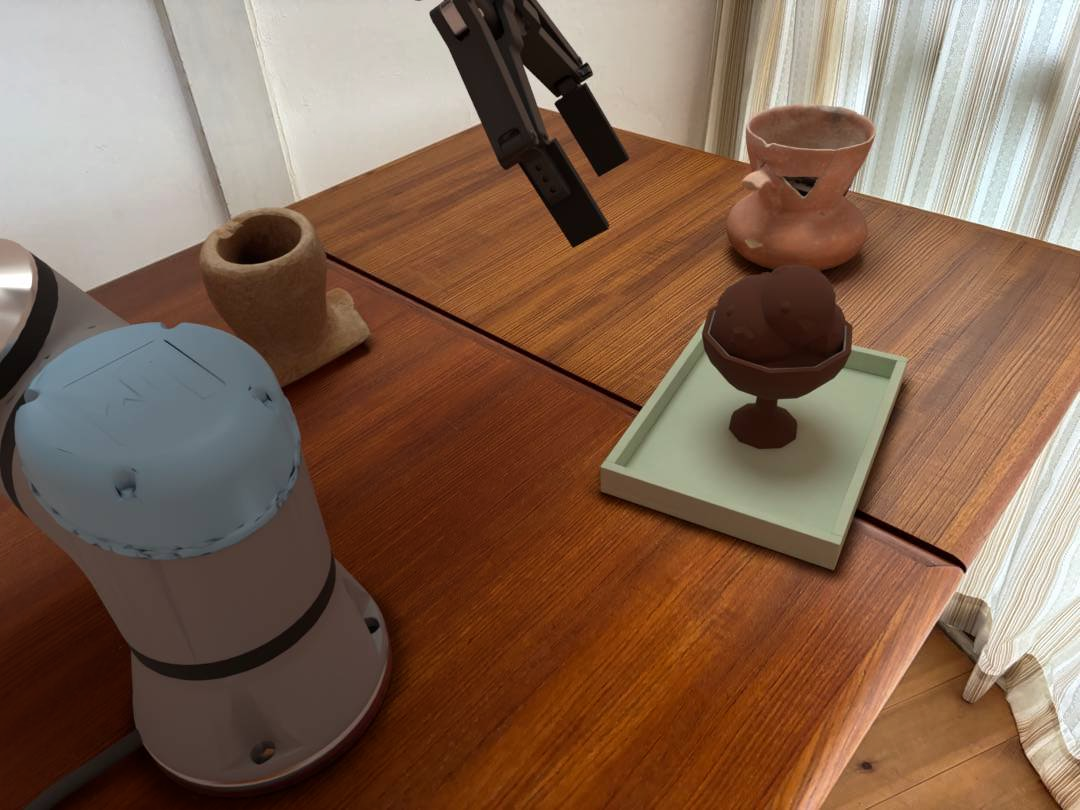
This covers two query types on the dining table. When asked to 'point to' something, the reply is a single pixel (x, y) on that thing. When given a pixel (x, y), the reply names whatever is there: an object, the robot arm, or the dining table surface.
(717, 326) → the ice cream bowl
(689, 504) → the serving tray
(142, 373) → the robot arm
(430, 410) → the dining table surface
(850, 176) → the ceramic jug
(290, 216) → the stone cup
